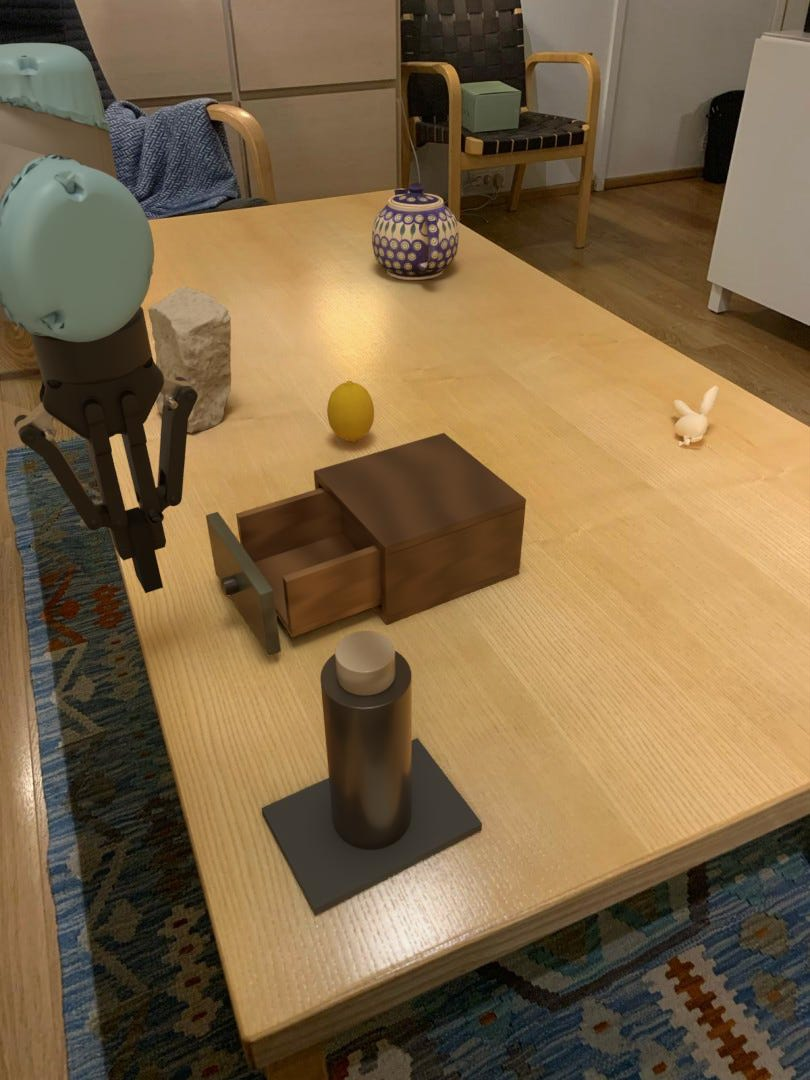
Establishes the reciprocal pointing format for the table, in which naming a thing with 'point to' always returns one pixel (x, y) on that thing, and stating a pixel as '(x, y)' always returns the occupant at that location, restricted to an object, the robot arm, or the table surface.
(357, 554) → the drawer
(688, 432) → the rabbit figurine
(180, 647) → the table surface
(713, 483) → the table surface
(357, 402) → the lemon
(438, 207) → the teapot
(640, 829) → the table surface
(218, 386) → the decorative stone
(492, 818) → the table surface
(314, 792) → the trivet mat
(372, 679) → the thermos bottle
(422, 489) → the cabinet
